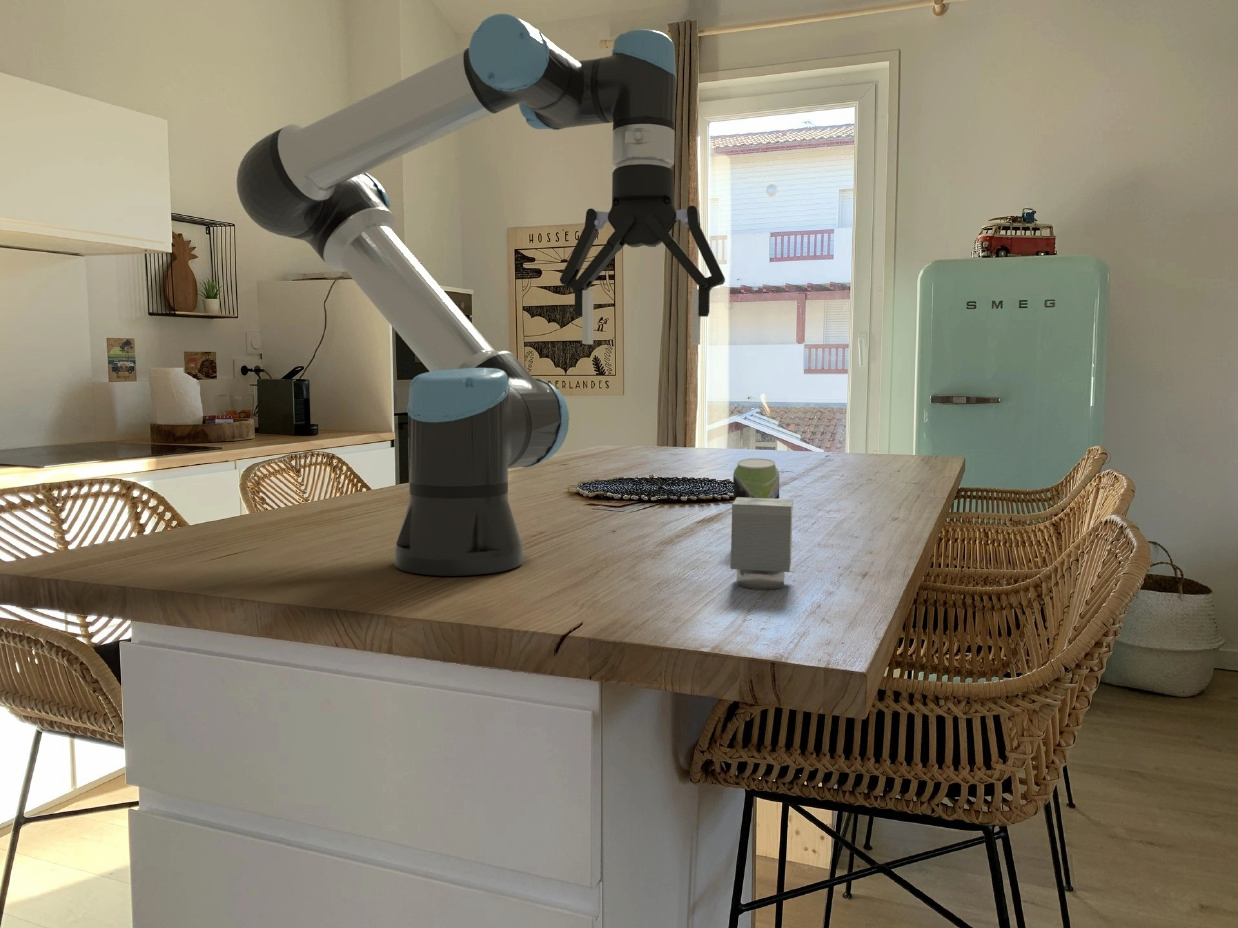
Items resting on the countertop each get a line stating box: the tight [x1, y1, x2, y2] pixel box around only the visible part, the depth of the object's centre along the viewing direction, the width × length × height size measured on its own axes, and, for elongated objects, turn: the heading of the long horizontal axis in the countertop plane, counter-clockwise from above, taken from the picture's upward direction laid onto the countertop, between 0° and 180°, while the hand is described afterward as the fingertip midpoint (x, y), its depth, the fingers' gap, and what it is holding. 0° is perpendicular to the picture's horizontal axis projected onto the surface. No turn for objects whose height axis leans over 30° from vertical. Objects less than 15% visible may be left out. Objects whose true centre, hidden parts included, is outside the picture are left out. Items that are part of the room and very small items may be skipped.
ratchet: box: [736, 569, 786, 591], centre depth 108 cm, size 5×17×6 cm, turn 168°
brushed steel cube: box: [730, 497, 794, 573], centre depth 101 cm, size 6×6×7 cm
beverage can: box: [732, 458, 780, 503], centre depth 123 cm, size 6×7×12 cm
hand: (641, 344), depth 115 cm, fingers open, 13 cm apart
